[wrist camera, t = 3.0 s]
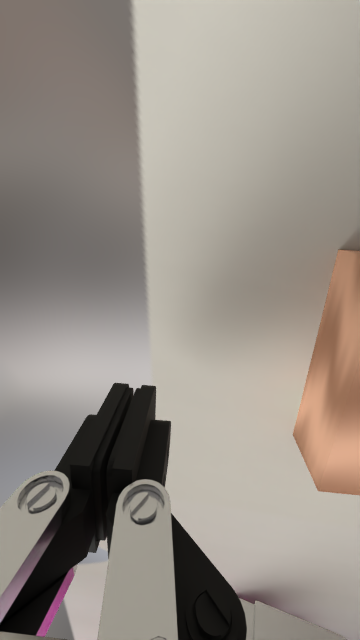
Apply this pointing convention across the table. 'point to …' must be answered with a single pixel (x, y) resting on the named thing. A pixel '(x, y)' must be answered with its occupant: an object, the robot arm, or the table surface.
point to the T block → (334, 387)
